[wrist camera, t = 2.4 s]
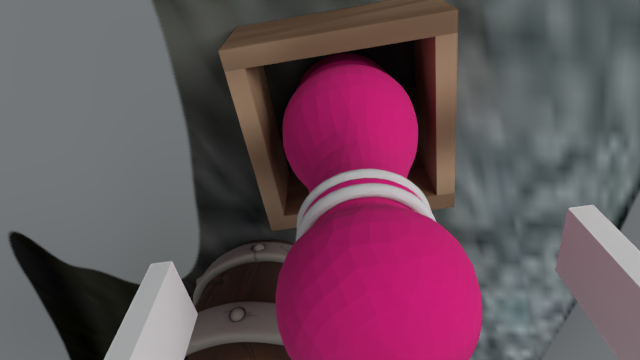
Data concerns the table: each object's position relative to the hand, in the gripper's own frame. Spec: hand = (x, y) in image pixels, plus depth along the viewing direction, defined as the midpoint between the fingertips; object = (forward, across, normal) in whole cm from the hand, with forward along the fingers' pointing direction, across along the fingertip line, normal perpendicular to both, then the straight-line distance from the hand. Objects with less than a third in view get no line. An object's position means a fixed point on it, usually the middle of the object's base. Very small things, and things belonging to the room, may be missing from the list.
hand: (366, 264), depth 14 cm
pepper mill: (+14, 0, 0) cm, 14 cm away
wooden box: (+14, 0, 0) cm, 14 cm away
